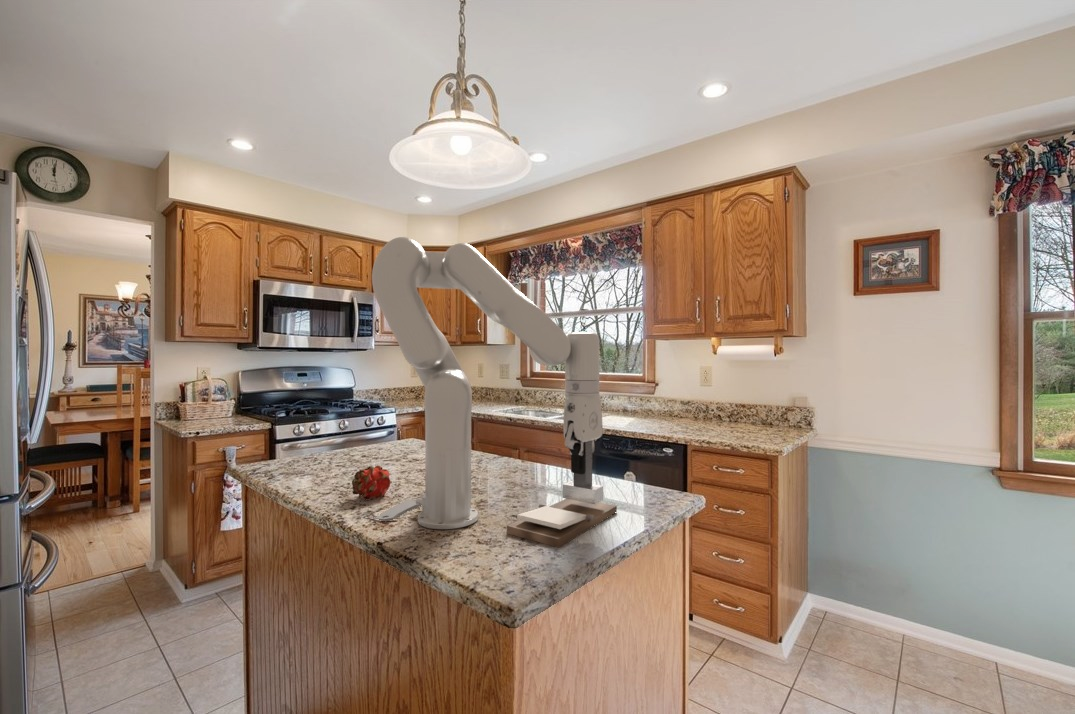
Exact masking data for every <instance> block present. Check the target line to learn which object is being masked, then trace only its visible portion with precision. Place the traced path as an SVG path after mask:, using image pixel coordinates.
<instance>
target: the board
mask: <svg viewBox="0 0 1075 714" xmlns="http://www.w3.org/2000/svg"><path fill="white" fill-rule="evenodd" d="M544 506H546V505H545V504H544V503H543V504H542V503H539V504H538V508H541V507H544ZM617 506H618V505H615V504H610V503H609V504H608V503H604V502H598V503H596V504H591V503H586V502H581V501H576V500H571V499H566V498H563V499H562V500H560V501H557V502H556V503H553V504H552V505H549V506H548V507H552V508H557V509H561V510H566V511H571V512H575V513H580V514H585V515H586V519H585V520H582V521H580V522H577V523H575V524H572V525H570V526H567V527H565V528H562V529H557V528H553V527H549V526H545V525H541V524H537V523H532V522H528V521H524V520H520V519H517V521H515V522H512V523H510V524H508V525H506V534H508V535H510V536H515V537H518V538H523V539H526V540H530V541H532V542H536V543H541V544H544V545H549V546H552V547H555V546H556V548H560V547H562V546H564V545H566V544H567V543H568V541H569V542H570V541H573V539H576V538H577V537H578V536H581V535H582V534H584V533H585V532H587V531H589V530H591V529H592V528H594V527H595V526H597V525H599V524H600V523H602V522H603V521H602V520H604V519H605V520H607V519H608V518H607V517H609V516H610V517H612V516H613V515H612V514H614V513H615V512H618V511H617ZM538 508H537V509H538ZM615 514H616V513H615ZM615 514H614V515H615ZM611 515H612V516H611ZM610 517H609V518H610ZM606 518H607V519H606ZM605 520H604V521H605ZM601 521H602V522H601ZM599 522H600V523H599ZM598 523H599V524H598ZM596 524H597V525H596ZM594 525H595V526H594ZM593 526H594V527H593ZM591 527H592V528H591ZM588 529H589V530H588ZM583 532H584V533H583Z"/></svg>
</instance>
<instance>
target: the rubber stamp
mask: <svg viewBox="0 0 1075 714" xmlns="http://www.w3.org/2000/svg"><path fill="white" fill-rule="evenodd" d="M575 440H577V438H575ZM575 444H577V443H575ZM577 445H578V447H579V444H577ZM592 453H593V452H592V440H591V441H587V442H584V451H583V455H585V474H578V473H573V480H570V481H568V482H565V483H562V499H571V500H576V501H581V502H586V503H591V504H596V503H598V502H599V503H601V501H603V500H604V485H599V484H594V483H593V470H592Z"/></svg>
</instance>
